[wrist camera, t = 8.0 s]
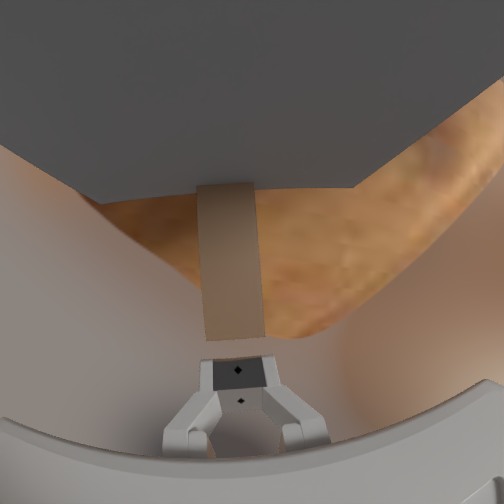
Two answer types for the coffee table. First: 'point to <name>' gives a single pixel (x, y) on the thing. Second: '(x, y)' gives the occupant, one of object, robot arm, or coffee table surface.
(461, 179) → the coffee table surface
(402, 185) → the coffee table surface
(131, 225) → the coffee table surface
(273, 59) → the lid flap
